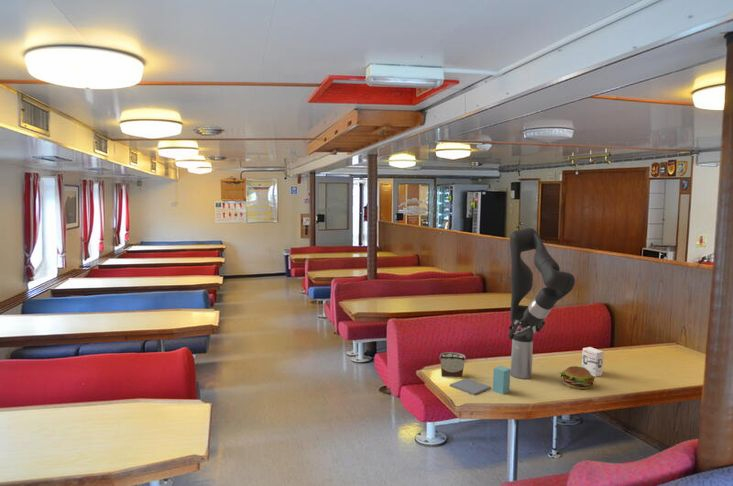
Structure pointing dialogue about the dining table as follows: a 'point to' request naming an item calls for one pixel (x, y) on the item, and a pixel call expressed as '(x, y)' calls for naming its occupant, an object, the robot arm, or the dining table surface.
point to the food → (577, 377)
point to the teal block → (501, 380)
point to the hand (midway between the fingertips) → (518, 337)
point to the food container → (452, 364)
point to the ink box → (592, 360)
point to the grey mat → (470, 386)
